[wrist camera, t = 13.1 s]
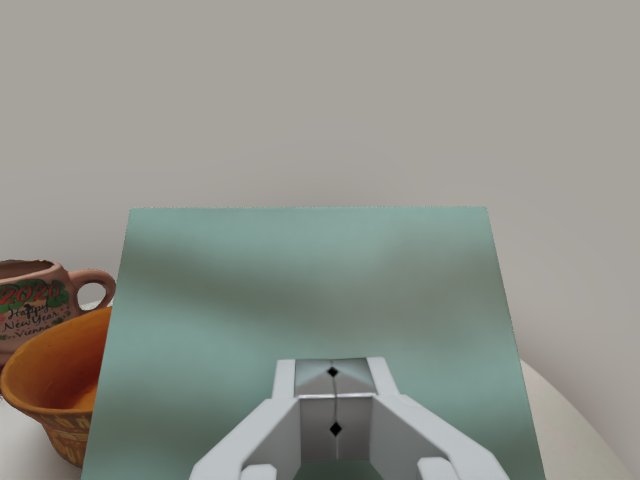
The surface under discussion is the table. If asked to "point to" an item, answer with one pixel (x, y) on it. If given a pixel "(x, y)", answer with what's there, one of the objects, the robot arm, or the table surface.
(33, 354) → the bowl
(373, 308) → the green flat panel
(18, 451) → the table surface
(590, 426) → the table surface
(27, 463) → the table surface
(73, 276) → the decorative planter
